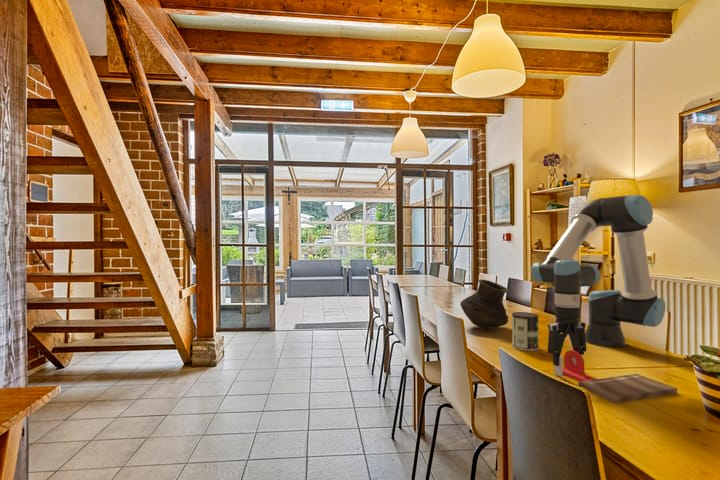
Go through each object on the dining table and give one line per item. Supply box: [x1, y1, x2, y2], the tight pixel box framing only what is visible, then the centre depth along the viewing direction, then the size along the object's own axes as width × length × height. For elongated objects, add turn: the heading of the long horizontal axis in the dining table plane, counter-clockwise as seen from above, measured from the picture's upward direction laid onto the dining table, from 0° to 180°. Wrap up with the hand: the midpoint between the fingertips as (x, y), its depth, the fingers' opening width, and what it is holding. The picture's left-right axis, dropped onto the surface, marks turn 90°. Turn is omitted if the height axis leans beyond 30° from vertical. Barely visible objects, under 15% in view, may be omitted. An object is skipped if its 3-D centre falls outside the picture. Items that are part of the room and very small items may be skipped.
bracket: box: [563, 349, 597, 382], centre depth 119 cm, size 12×4×8 cm, turn 19°
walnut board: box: [577, 373, 678, 404], centre depth 109 cm, size 24×12×2 cm, turn 106°
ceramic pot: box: [460, 279, 509, 329], centre depth 186 cm, size 24×24×22 cm
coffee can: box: [511, 311, 539, 352], centre depth 153 cm, size 10×10×14 cm
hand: (567, 373), depth 121 cm, fingers open, 7 cm apart
